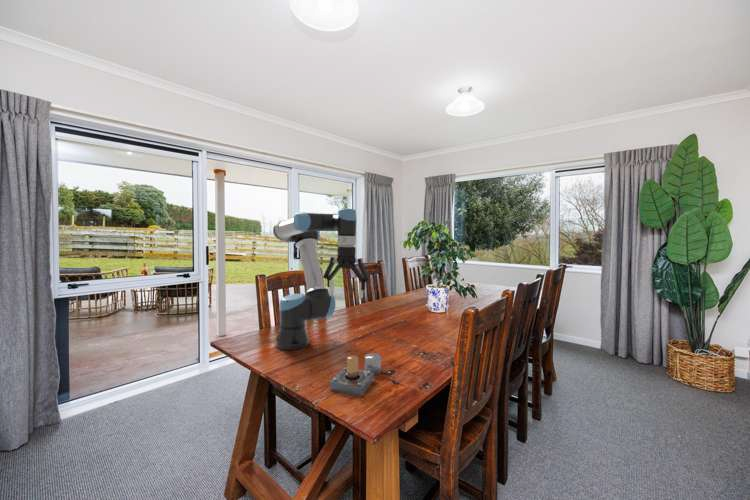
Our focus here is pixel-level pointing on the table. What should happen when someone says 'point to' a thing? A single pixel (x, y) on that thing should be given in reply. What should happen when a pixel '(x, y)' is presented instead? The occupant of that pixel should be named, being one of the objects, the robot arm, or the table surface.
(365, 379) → the flange socket
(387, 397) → the table surface
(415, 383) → the table surface
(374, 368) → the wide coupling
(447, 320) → the table surface
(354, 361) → the brass peg
